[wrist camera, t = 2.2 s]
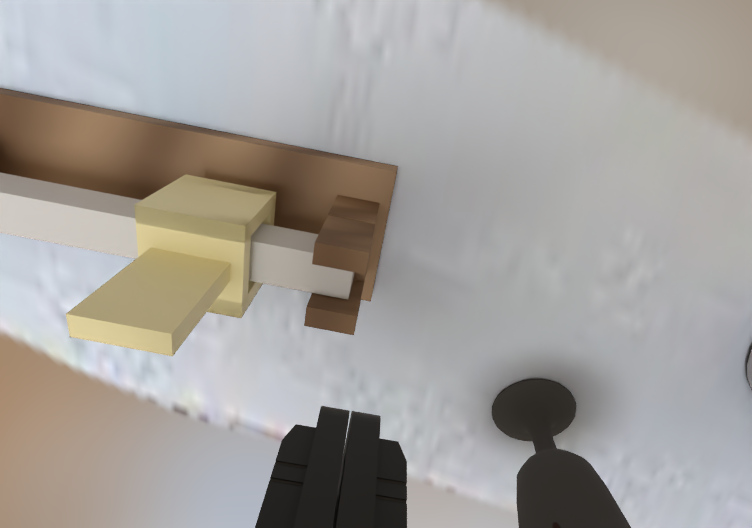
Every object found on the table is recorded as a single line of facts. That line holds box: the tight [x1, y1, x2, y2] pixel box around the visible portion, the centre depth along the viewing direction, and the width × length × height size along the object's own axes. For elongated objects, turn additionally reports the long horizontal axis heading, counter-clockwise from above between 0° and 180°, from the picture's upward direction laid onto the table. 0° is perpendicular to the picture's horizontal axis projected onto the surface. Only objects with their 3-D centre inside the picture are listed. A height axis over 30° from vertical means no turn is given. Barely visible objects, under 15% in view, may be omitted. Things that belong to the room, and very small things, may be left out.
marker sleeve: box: [66, 175, 276, 356], centre depth 16 cm, size 4×4×8 cm
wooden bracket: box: [0, 88, 398, 335], centre depth 20 cm, size 22×7×6 cm, turn 80°
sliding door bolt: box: [0, 173, 355, 300], centre depth 19 cm, size 21×4×5 cm, turn 80°
